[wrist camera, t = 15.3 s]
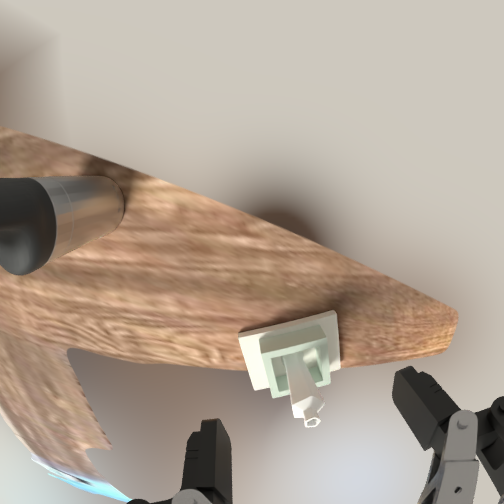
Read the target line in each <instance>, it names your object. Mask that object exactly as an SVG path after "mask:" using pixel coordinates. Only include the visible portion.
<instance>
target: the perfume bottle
mask: <svg viewBox="0 0 504 504" xmlns="http://www.w3.org/2000/svg"><path fill="white" fill-rule="evenodd" d="M303 355H304V354H303V353H302V352H301V351H299V352H295V353H291V354H287V355H283V356H281V358H282V363H283V365H284V366H285V367H286V373H287V379H288V385H289V391H290V397H291V403H292V409H293V414H294V417H295V418H301V417H304V420H305V427H315V426H317V425H318V424H319V423H320V421H321V419H319V416H318V412H319V411H320V410H321V409H322V407H323V406H324V405H325V401H324V400H323V398H322V396H321V394H320V392H319V390H318V388H317V386H316V384H315V382H314V380H313V378H312V376H311V374H310V372H309V370H308V368H307V366H306V364H305V362H304V360H303Z"/></svg>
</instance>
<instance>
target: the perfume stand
mask: <svg viewBox="0 0 504 504" xmlns="http://www.w3.org/2000/svg"><path fill="white" fill-rule="evenodd" d="M238 339H239V342H240V346H241V349H242V352H243V356H244V359H245V362H246V365H247V369H248V372H249V375H250V378H251V381H252V385H253V388H254V390H259V389H264V388H269V387H270V390H271V394H272V397H273V398H276V397H281V396H285V395H289V394H290V391H289V385H288V379H287V373H286V367H285V366H284V365H283V363H282V358H281V356H283V355H287V354H291V353H295V352H299V351H301V352H302V353H303V354H304V355H303V360H304V362H305V364H306V366H307V368H308V370H309V372H310V374H311V376H312V378H313V380H314V382H315V384H316V386H317V387H320V386H323V385H327V384H330V383H331V382H330V372H332V371H334V370H338V369H341V368H340V350H339V335H338V323H337V314H336V312H335V311H334V310H331V311H328V312H324V313H320V314H317V315H313V316H309V317H305V318H302V319H298V320H294V321H290V322H285V323H281V324H277V325H273V326H268V327H264V328H260V329H255V330H250V331H246V332H241V333H238Z"/></svg>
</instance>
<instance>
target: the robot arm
mask: <svg viewBox="0 0 504 504" xmlns="http://www.w3.org/2000/svg"><path fill="white" fill-rule="evenodd" d="M123 213H124V198H123V195H122V192H121V190H120V188H119V186H118V185H117V184H116V183H115V182H114V181H113V180H112V179H110V178H108V177H105V176H49V177H31V178H0V265H1V266H2V267H3V268H4V269H5V270H7V271H8V272H10V273H12V274H14V275H26V274H29V273H31V272H33V271H35V270H37V269H39V268H41V267H42V266H44V265H46V264H48V263H50V262H51V261H53V260H55V259H57V258H59V257H61V256H63V255H65V254H67V253H69V252H71V251H73V250H75V249H77V248H79V247H81V246H83V245H85V244H87V243H90V242H92V241H94V240H96V239H98V238H101V237H103V236H105V235H107V234H109V233H111V232H112V231H114V230H115V229H116V228H117V226H118V225H119V223H120V222H121V219H122V217H123ZM392 398H393V401H394V404H395V405H396V407H397V408H398V410H399V411H400V413H401V415H402V416H403V418H404V419H405V421H406V422H407V424H408V426H409V427H410V429H411V430H412V432H413V433H414V435H415V437H416V438H417V440H418V441H419V443H420V444H421V446H422V448H423V449H424V451H426V450H427V449H429V448H431V447H432V448H433V449H434V453H433V457H432V461H431V466H430V470H429V473H428V477H427V481H426V484H425V487H424V490H423V492H422V493H421V496H420V498H419V501H418V503H417V504H472V503H473V499H474V494H475V489H476V483H477V477H478V471H479V461H478V460H476V459H475V455H477V456H478V458H479V459H480V461H481V463H482V464H483V466H484V468H485V470H486V471H487V473H488V475H489V476H490V478H491V480H492V482H493V484H494V485H495V487H496V489H497V491H498V492H499V495H500V496H501V498H500V500H499V502H498V504H504V396H502V397H499V398H497V399H496V400H495V401H494V402H493V404H492V405H491V407H490V408H487V409H484V410H482V411H479V412H475V413H473V412H472V411H469V410H461V409H460V408H459V407H458V406H457V405H456V404H455V402H454V401H453V400H452V399H451V398H450V397H449V395H448V394H447V393H446V392H445V391H444V390H442V388H441V386H440V385H439V384H437V382H436V381H435V379H434V378H433V377H432V376H431V375H429V374H427V373H424V372H423V371H422V372H420V373H417V371H416V370H415V369H414V368H413V367H412V366H408V367H406V368H404V369H401V370H399V371H397V372H396V373H395V377H394V385H393V391H392ZM231 461H232V456H231V442H230V438H229V436H228V434H227V432H226V430H225V428H224V426H223V424H222V422H221V420H220V419H218V418H217V419H209V420H202V423H201V430H200V431H199V432H193V433H192V434H191V436H190V437H189V439H188V441H187V447H186V455H185V462H184V470H183V478H182V486H181V489H180V491H179V492H178V493H177V494H176V495H175V496H174V497H173V498H171V499H168V500H165V501H160V502H154V503H149V502H147V501H145V500H143V499H134V500H131V501H129V502H128V503H127V504H232V462H231Z"/></svg>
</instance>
